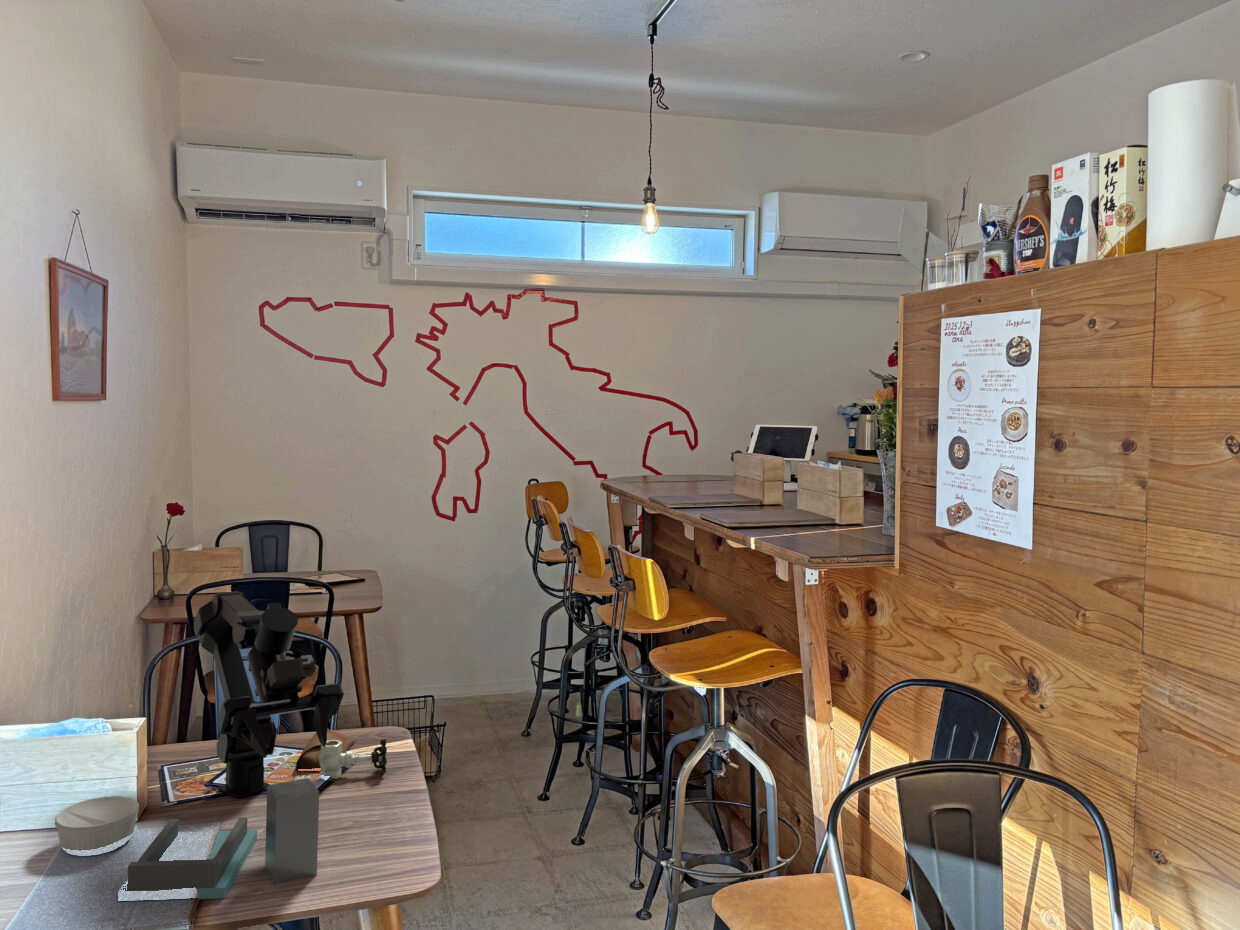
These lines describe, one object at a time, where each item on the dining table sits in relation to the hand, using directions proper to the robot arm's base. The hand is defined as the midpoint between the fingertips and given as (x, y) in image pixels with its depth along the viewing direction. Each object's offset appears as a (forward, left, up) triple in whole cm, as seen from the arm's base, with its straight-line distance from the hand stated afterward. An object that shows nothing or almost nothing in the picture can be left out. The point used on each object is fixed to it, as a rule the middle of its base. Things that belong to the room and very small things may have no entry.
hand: (295, 750), depth 140 cm
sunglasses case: (-26, +29, -16) cm, 42 cm away
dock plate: (-6, -13, -15) cm, 21 cm away
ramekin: (-25, -17, -16) cm, 34 cm away
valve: (-15, +25, -16) cm, 33 cm away
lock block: (+6, -5, -15) cm, 17 cm away
